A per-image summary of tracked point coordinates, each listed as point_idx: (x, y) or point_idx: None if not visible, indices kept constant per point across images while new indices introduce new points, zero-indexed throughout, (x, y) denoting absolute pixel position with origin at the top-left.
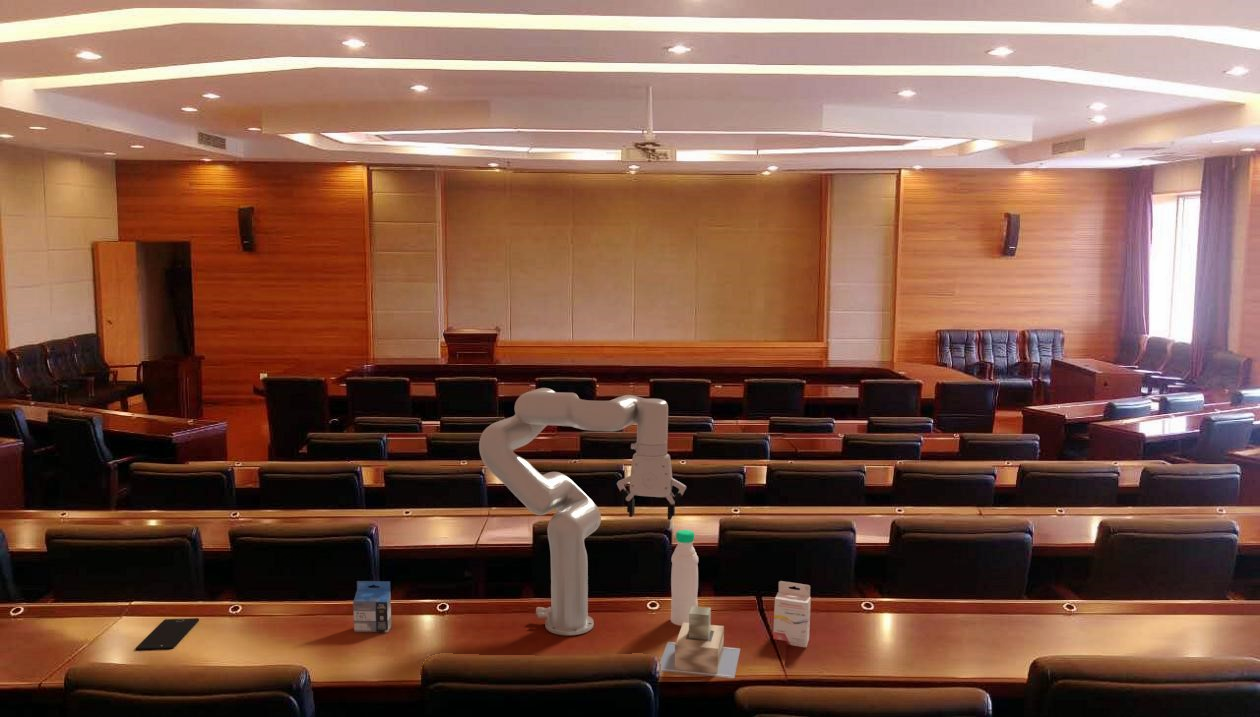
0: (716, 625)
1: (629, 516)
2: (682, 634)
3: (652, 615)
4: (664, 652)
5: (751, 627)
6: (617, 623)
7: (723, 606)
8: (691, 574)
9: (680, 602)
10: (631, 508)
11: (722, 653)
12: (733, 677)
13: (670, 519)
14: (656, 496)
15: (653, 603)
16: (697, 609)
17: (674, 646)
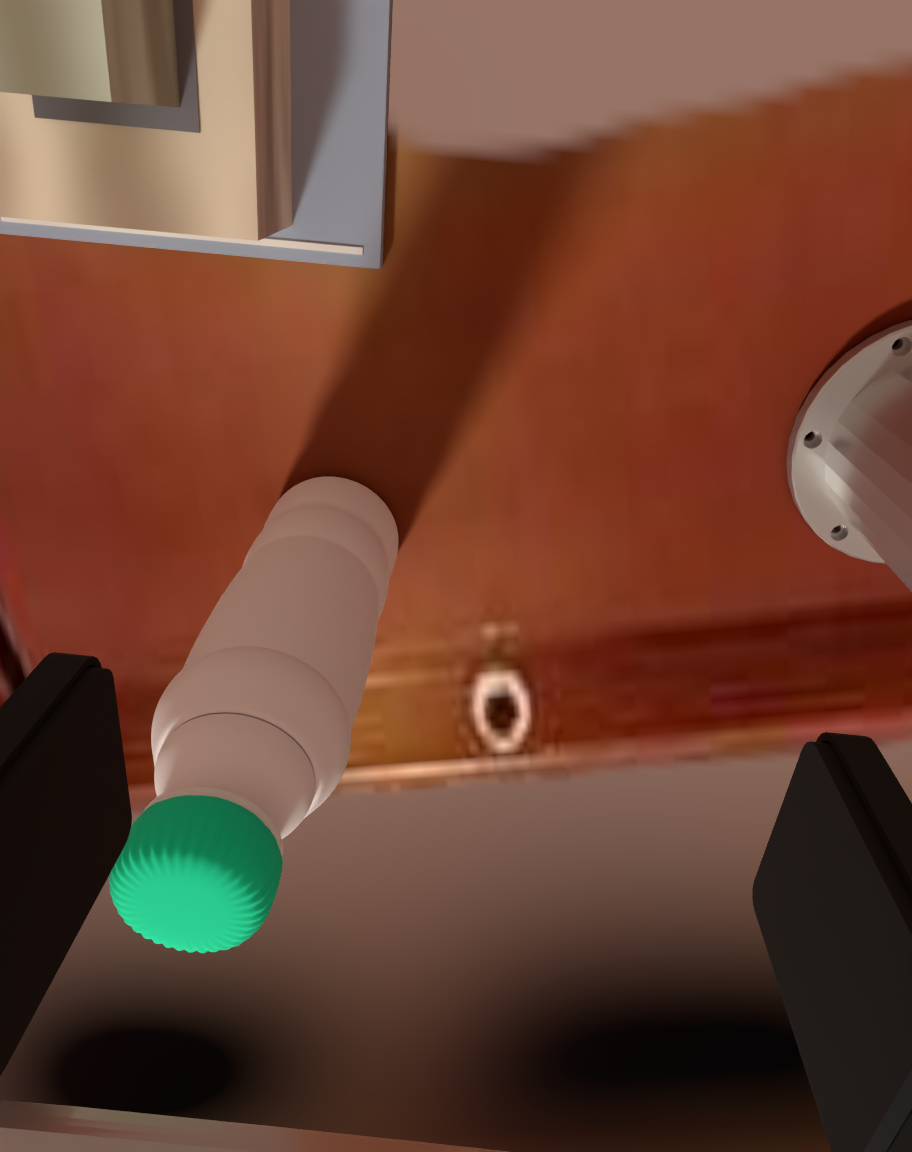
0: (45, 219)
1: (861, 736)
2: (226, 19)
3: (494, 606)
4: (380, 112)
5: (22, 528)
6: (661, 503)
7: None
8: (213, 628)
9: (321, 535)
10: (890, 862)
11: None
12: None
13: (57, 669)
14: (109, 1122)
15: (500, 723)
16: (47, 23)
17: (336, 208)
